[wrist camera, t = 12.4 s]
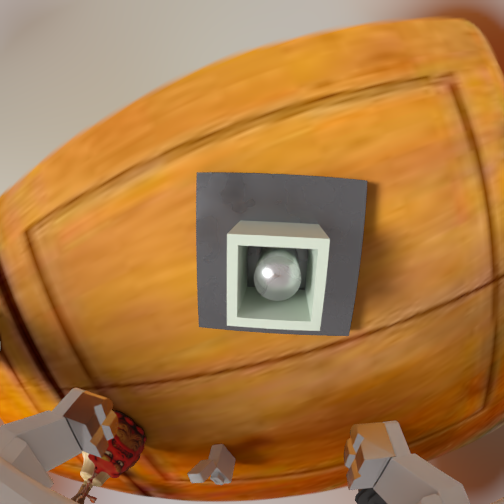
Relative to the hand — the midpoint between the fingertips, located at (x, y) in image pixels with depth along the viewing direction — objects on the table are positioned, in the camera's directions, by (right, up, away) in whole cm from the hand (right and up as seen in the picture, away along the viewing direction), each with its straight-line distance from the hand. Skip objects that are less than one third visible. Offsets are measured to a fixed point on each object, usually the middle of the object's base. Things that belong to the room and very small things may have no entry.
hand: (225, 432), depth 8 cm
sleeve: (+3, +5, +17) cm, 18 cm away
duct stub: (+3, +5, +18) cm, 19 cm away
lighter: (-4, -20, +26) cm, 33 cm away
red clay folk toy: (-17, -20, +27) cm, 37 cm away
